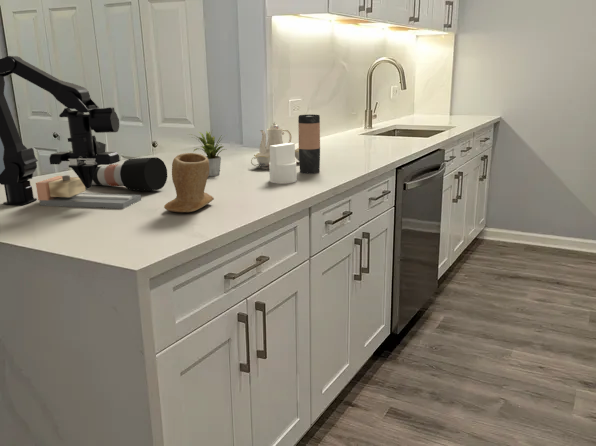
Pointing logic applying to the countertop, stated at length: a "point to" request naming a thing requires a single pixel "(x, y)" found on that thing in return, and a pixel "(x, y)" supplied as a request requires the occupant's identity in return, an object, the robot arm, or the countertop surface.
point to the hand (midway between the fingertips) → (88, 188)
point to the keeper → (66, 187)
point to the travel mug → (309, 143)
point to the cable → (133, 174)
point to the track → (83, 198)
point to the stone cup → (189, 183)
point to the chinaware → (273, 139)
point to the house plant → (211, 153)
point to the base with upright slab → (282, 163)
